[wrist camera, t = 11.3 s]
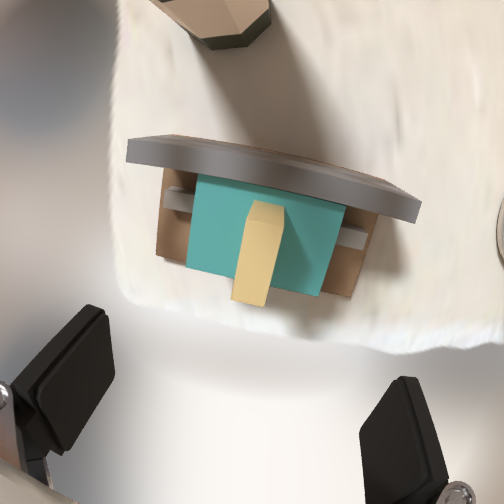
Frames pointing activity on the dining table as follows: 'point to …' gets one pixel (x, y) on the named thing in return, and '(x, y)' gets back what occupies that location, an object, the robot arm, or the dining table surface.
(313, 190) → the wall board
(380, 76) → the dining table surface
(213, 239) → the teal block
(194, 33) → the wine bottle
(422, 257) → the dining table surface
